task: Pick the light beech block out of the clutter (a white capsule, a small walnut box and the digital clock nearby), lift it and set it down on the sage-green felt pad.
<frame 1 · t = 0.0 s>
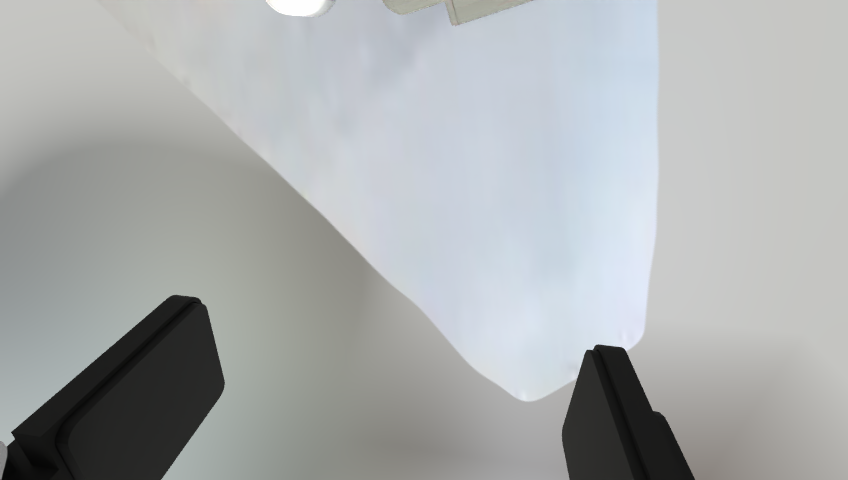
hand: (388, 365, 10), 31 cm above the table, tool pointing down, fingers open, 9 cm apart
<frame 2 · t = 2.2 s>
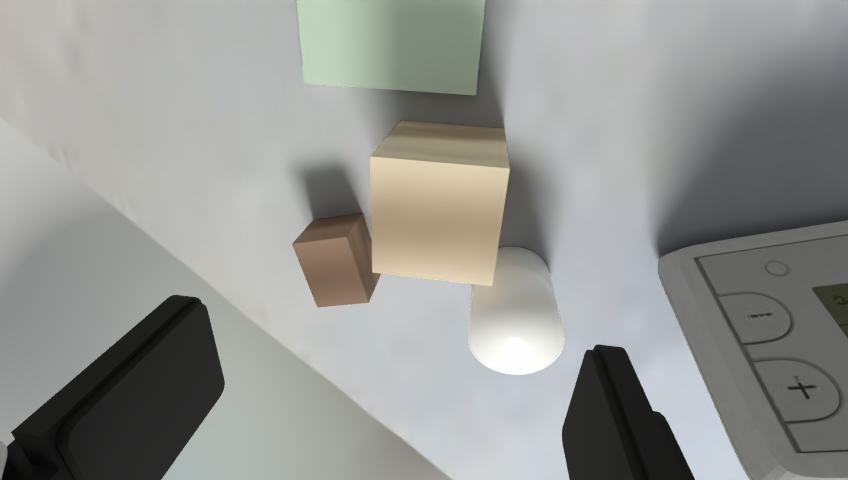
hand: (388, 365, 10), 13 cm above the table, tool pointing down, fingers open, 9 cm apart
white capsule: (510, 280, 23), on the table
beech block: (448, 173, 21), on the table
walnut box: (348, 246, 24), on the table
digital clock: (822, 259, 21), on the table
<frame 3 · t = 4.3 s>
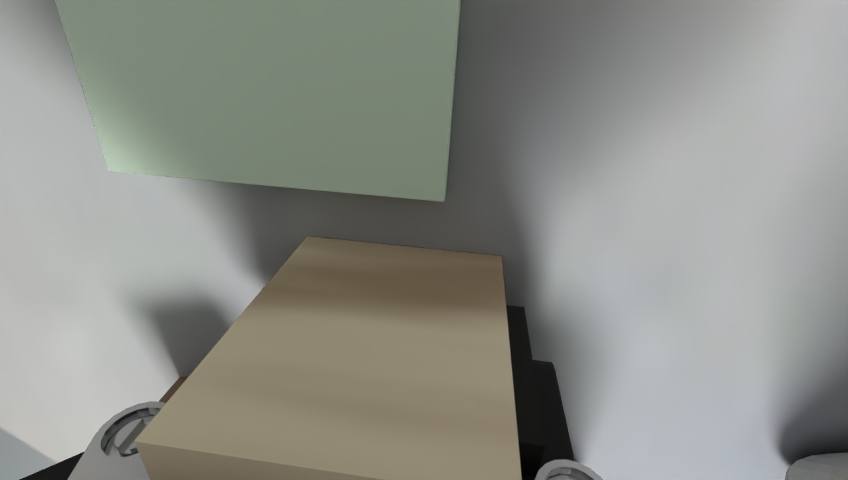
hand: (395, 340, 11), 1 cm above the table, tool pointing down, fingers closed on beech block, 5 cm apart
beech block: (400, 323, 12), on the table, touching gripper
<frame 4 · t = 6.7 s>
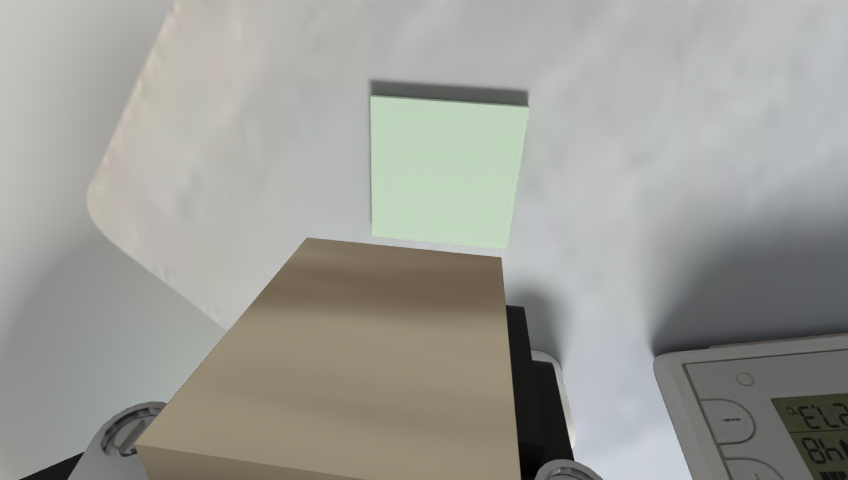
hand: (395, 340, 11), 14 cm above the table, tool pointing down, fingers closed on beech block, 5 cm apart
white capsule: (529, 373, 29), on the table
beech block: (400, 325, 12), point 13 cm above the table, touching gripper
felt pad: (444, 174, 23), on the table
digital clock: (782, 361, 26), on the table
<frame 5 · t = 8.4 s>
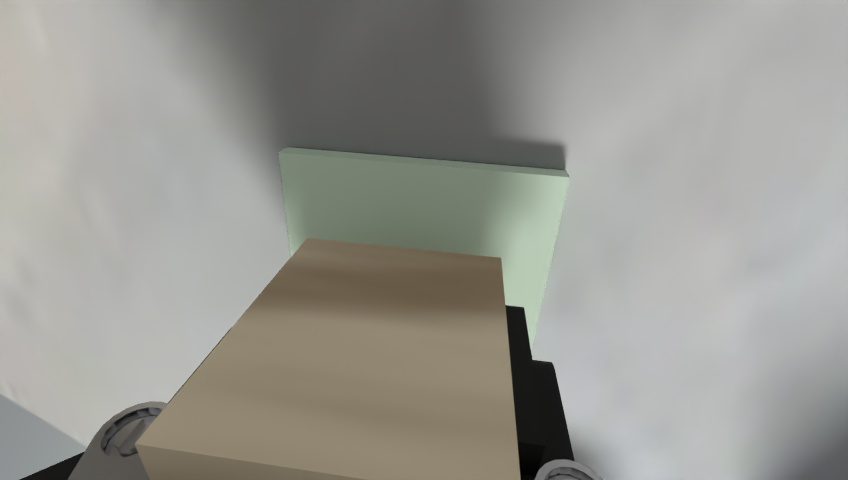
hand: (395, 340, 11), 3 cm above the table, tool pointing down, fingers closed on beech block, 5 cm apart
beech block: (400, 325, 12), point 2 cm above the table, touching gripper
felt pad: (416, 276, 14), on the table
when the fingers open (2 cm above the table, at t = 9.4 s): beech block drops 1 cm, resting on felt pad.
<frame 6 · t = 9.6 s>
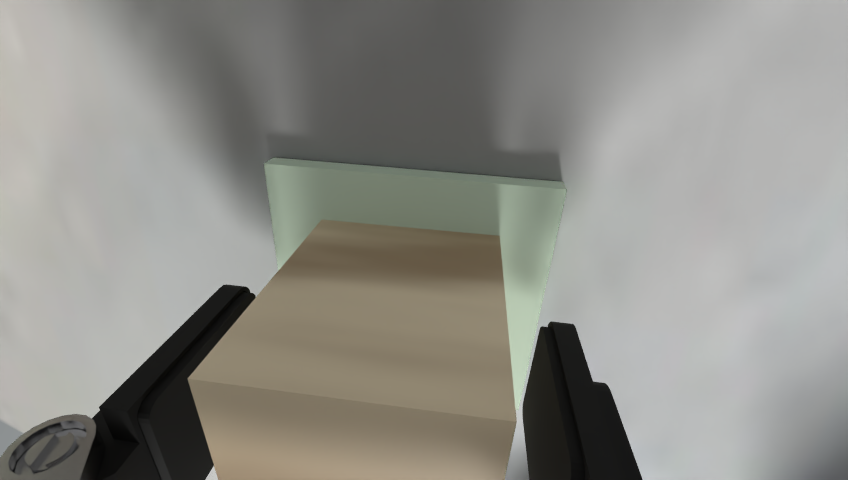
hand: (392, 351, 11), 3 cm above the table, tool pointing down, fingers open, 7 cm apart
beech block: (406, 301, 13), point 1 cm above the table, touching felt pad
felt pad: (409, 290, 13), on the table
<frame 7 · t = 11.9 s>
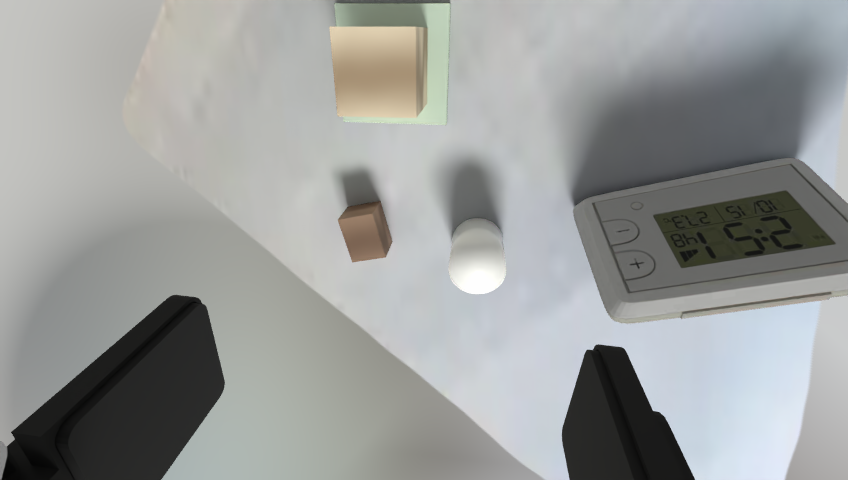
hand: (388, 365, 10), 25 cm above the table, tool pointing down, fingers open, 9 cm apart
white capsule: (477, 240, 36), on the table
beech block: (393, 66, 30), point 1 cm above the table, touching felt pad
felt pad: (394, 66, 30), on the table
walnut box: (370, 224, 37), on the table
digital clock: (675, 206, 33), on the table
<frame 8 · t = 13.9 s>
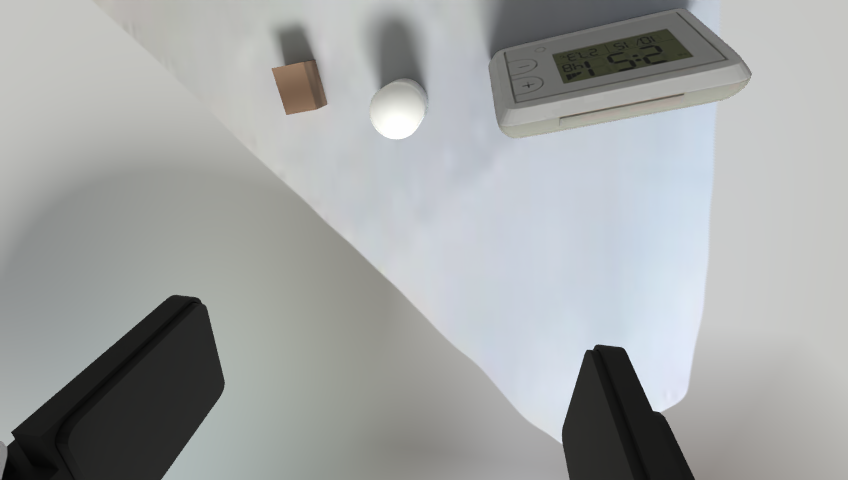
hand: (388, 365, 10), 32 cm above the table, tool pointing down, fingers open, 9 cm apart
white capsule: (404, 103, 39), on the table
walnut box: (307, 85, 39), on the table
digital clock: (583, 65, 36), on the table
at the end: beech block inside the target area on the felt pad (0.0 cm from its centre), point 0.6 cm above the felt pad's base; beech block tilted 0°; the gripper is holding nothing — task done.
